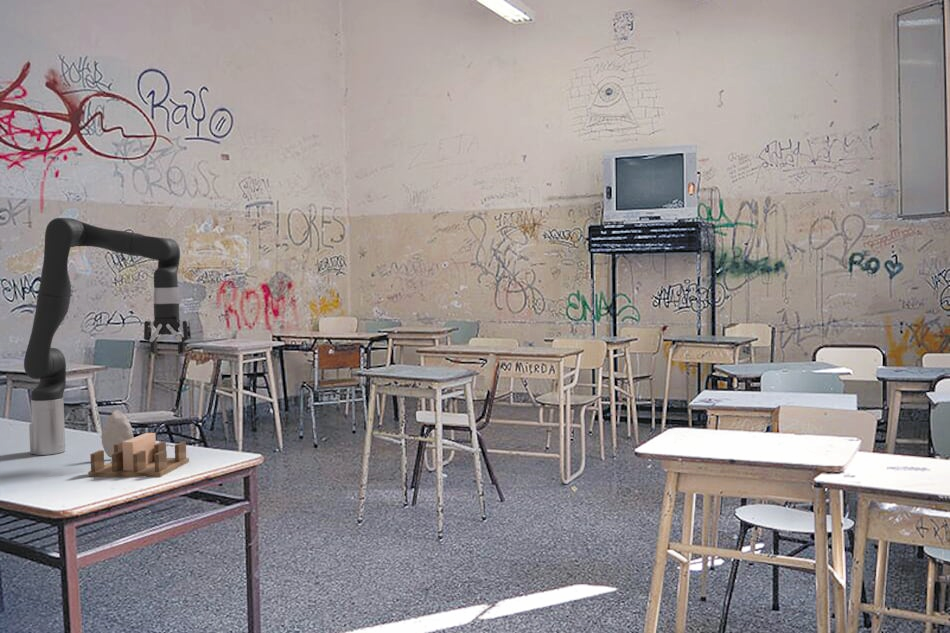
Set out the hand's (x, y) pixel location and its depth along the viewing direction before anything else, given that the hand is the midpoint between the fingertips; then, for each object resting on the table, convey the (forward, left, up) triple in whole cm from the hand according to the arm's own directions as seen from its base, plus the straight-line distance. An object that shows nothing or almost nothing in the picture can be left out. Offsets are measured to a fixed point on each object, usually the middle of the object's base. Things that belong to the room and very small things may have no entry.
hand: (168, 353), depth 270 cm
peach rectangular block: (+1, -22, -30) cm, 37 cm away
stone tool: (-13, -8, -32) cm, 35 cm away
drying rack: (+1, -22, -31) cm, 38 cm away
